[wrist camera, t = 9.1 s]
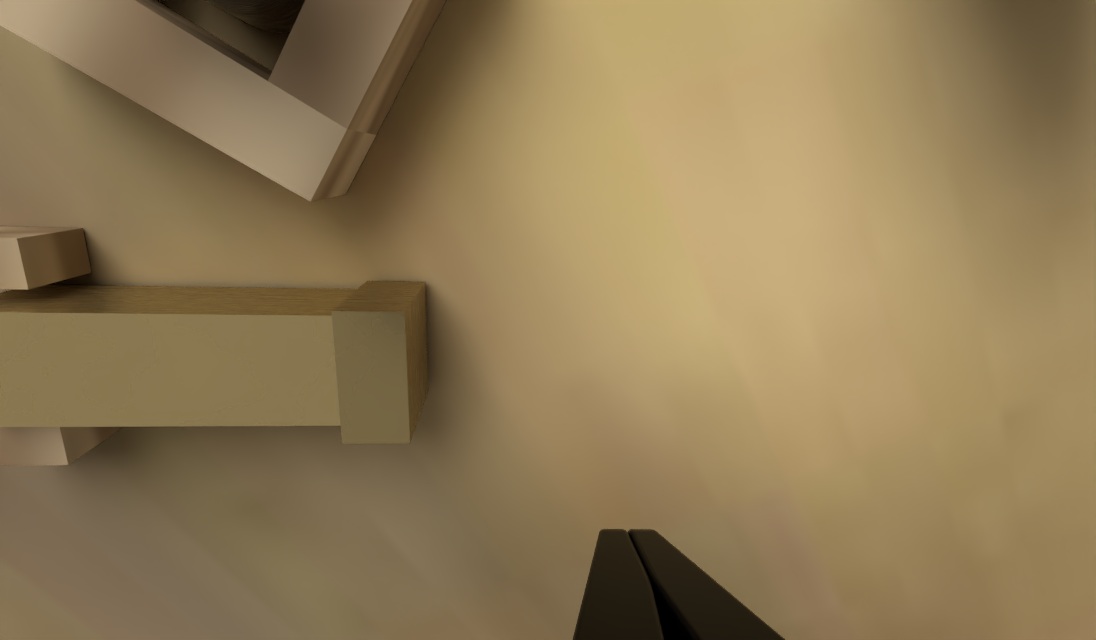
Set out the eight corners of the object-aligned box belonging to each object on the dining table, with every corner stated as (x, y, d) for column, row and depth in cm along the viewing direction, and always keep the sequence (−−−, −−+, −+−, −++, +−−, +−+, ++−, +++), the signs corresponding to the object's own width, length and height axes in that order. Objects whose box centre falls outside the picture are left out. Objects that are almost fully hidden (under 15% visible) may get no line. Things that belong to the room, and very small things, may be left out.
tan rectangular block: (425, 281, 20) (404, 311, 16) (428, 390, 21) (410, 443, 17) (30, 275, 19) (-97, 306, 15) (56, 389, 20) (-57, 446, 16)
